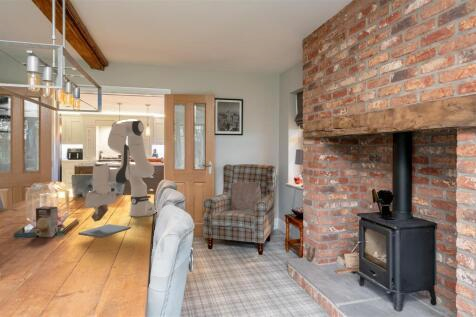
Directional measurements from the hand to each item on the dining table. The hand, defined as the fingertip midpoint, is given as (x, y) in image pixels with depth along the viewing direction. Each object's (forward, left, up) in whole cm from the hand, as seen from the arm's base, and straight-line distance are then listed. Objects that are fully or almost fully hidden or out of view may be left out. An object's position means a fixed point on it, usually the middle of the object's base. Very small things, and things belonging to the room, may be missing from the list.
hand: (101, 212), depth 182 cm
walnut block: (0, -5, -4) cm, 6 cm away
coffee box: (+20, -20, -11) cm, 30 cm away
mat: (0, +3, -11) cm, 11 cm away
